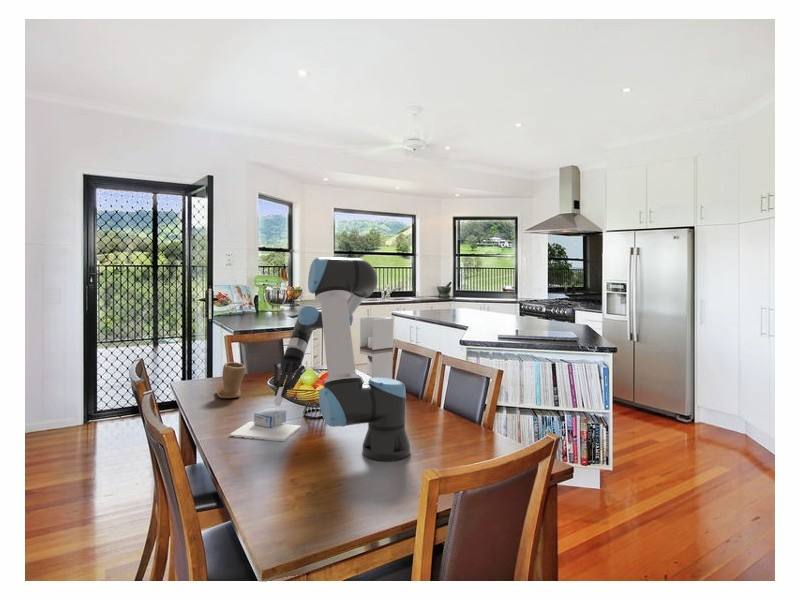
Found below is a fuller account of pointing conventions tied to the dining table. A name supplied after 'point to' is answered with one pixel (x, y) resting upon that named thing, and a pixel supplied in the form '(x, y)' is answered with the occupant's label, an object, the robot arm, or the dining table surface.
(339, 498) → the dining table surface
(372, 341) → the display case
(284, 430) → the cutting board
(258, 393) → the dining table surface
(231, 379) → the tan boot
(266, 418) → the medicine box
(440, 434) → the dining table surface
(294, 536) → the dining table surface
